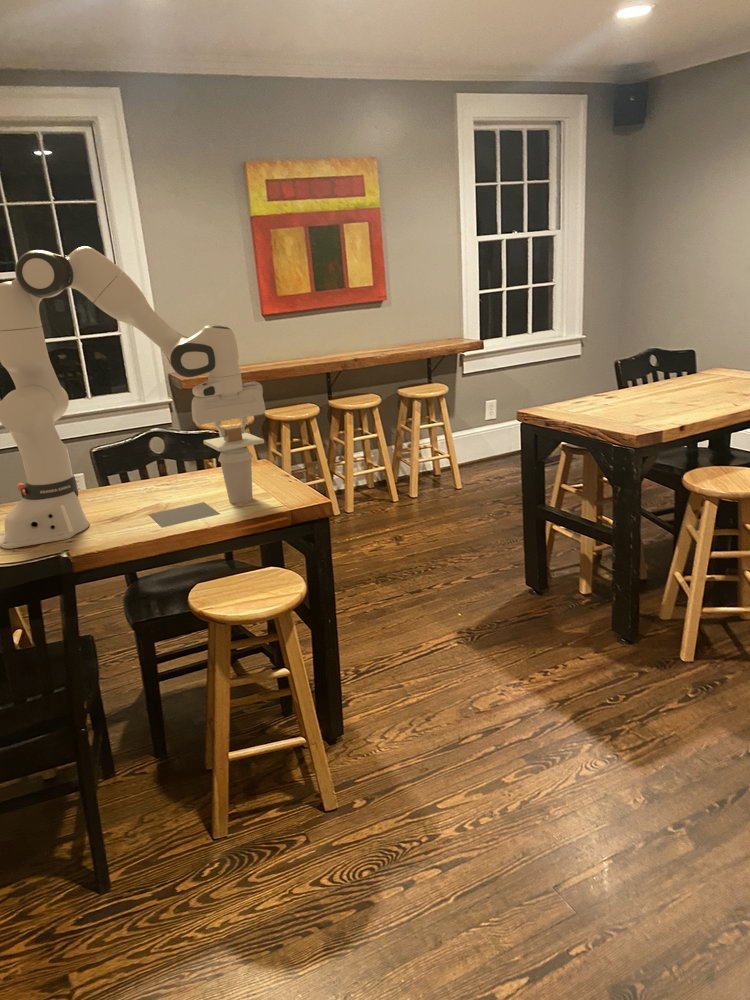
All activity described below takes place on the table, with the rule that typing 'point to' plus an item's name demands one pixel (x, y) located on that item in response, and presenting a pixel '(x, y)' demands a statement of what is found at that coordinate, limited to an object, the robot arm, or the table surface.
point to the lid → (233, 439)
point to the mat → (183, 514)
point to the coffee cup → (237, 474)
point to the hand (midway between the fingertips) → (232, 435)
